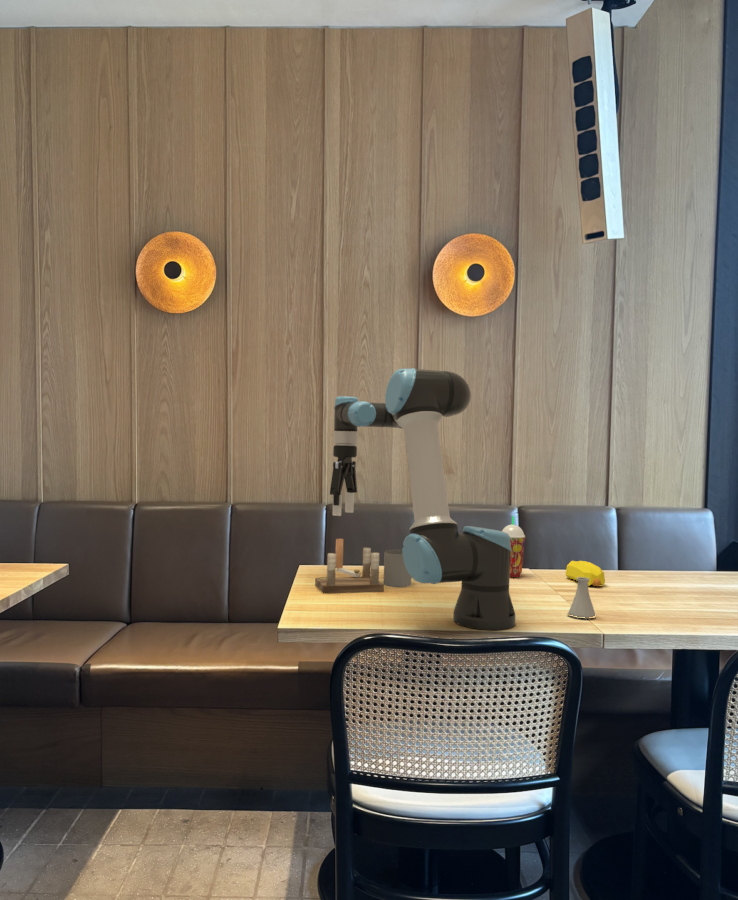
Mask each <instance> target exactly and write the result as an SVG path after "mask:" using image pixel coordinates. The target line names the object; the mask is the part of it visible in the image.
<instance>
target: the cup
mask: <svg viewBox="0 0 738 900" xmlns="http://www.w3.org/2000/svg"><path fill="white" fill-rule="evenodd" d="M383 560H384V562H383V584H384V586H386V587H390V588H407V587H408V588H409V587H411V586H412V577H411V576H410V575H409V573H408V571H407V569H406V567H405V564H404V560H403V553H402V549H387V550H386V549H385V551H384V556H383Z"/></svg>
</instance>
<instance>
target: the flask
mask: <svg viewBox="0 0 738 900" xmlns="http://www.w3.org/2000/svg"><path fill="white" fill-rule="evenodd" d="M577 581H578V582H577ZM577 581H576V582H577V587H576V591H575V595H574V597H573V601H572V603H571V605H570V608H569V610H568V612H567V615H568V614H569V615H573V616H577V617H585V618H589V617H593V616H595V614H596V612H595V609H594V606H593V602H592V600H591V596H590V592H589V591H590V590H589V586H588V582H589V578H585V577H577Z"/></svg>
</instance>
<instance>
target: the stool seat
mask: <svg viewBox="0 0 738 900" xmlns="http://www.w3.org/2000/svg"><path fill="white" fill-rule="evenodd" d="M335 553H336V552H335ZM335 553H334V552H328V553H327V560H326V563H327V565H326V576H319V577H315V579H314V585H315V586H316V587H317V588H318V589H319V591H320V590H321V591H322V592H323V593H322V592H321V591H320V592H321V593H322V594H346V593H349V594H351V593H353V594H354V593H376V592H377V593H378V592H379V593H380V592H381V593H382V592H384V591H385V585H384V583H382V582H381V581H380V578H379V577H380V576H379V575H380V570H379V569H380V552H375V551H373V552H372V548H371V547H363V548H362V572H361V571H360V569H354V570H353V571H354V572H355V573H362V576H361V577H353V576H343V577H341V576H339V577H337V576H336V554H335Z"/></svg>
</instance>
